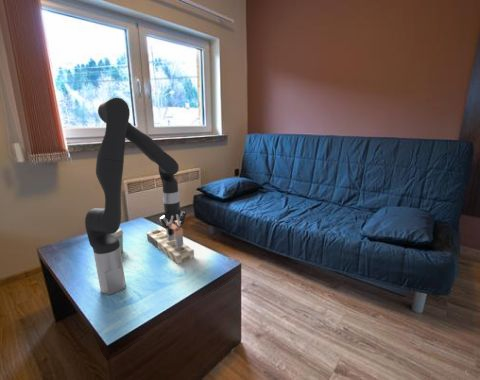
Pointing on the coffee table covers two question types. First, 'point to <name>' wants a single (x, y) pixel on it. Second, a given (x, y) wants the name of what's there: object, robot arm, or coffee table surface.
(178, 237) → the pinkish brown rectangular block
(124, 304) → the coffee table surface
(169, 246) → the rail
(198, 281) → the coffee table surface
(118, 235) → the coffee cup
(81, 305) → the coffee table surface
